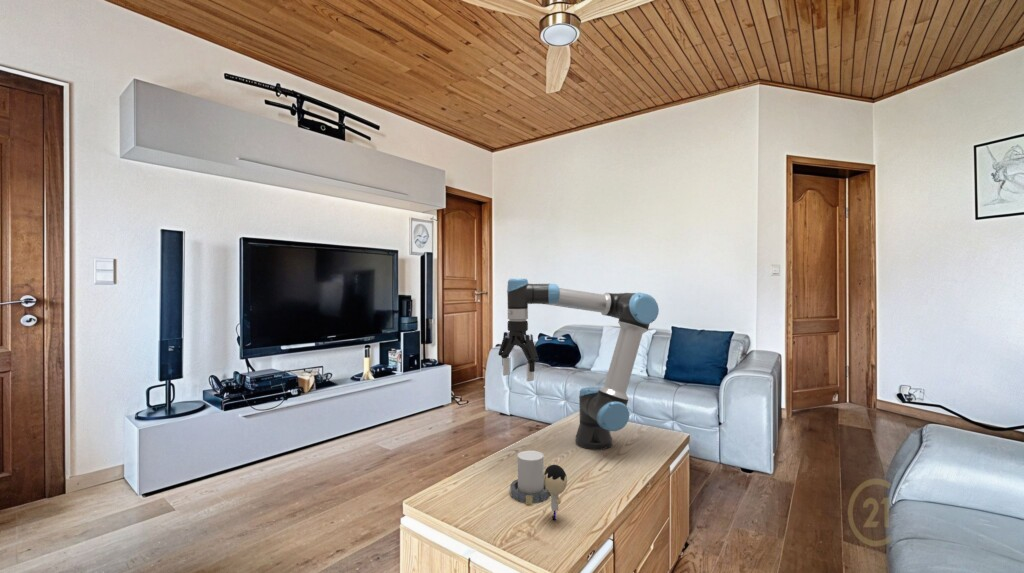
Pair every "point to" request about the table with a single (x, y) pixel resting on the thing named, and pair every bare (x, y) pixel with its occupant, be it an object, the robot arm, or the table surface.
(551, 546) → the table surface
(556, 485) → the toy
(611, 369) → the robot arm
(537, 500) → the collar
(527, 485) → the grey cylinder
